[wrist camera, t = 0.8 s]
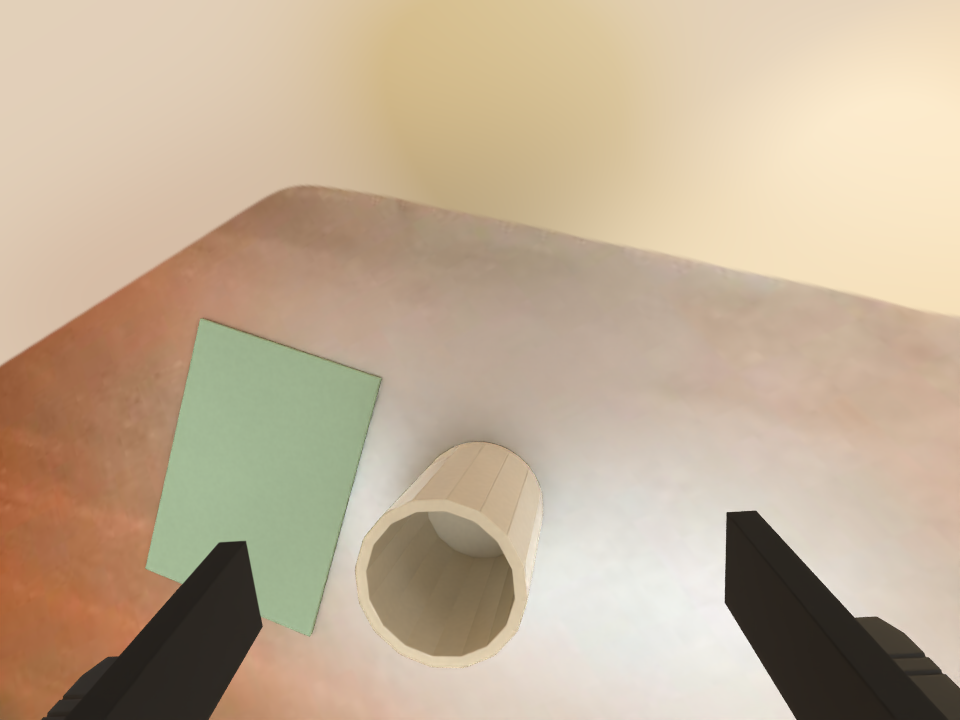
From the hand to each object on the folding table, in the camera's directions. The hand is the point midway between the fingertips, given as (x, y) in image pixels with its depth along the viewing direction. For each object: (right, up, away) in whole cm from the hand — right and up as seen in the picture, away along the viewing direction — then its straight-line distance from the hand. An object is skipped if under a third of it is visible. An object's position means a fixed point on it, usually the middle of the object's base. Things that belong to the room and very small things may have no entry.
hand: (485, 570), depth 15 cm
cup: (0, -4, +23) cm, 23 cm away
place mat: (-16, -3, +26) cm, 31 cm away
